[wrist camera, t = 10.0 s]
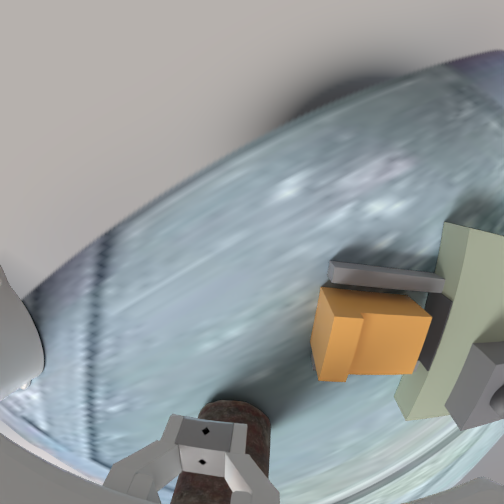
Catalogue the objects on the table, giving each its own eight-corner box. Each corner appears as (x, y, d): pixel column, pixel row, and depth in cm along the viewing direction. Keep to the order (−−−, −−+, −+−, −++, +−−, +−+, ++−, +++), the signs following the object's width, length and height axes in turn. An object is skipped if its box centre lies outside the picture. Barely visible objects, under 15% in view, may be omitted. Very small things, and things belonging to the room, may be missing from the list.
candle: (224, 378, 26) (168, 580, 6) (287, 412, 26) (287, 599, 7) (188, 419, 27) (129, 578, 8) (245, 448, 28) (222, 603, 8)
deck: (301, 395, 25) (308, 477, 16) (338, 202, 22) (385, 212, 12) (462, 389, 24) (501, 442, 15) (511, 238, 21) (579, 260, 11)
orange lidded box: (309, 340, 24) (318, 380, 18) (320, 286, 23) (334, 316, 17) (392, 344, 24) (416, 380, 18) (406, 294, 23) (438, 322, 17)
